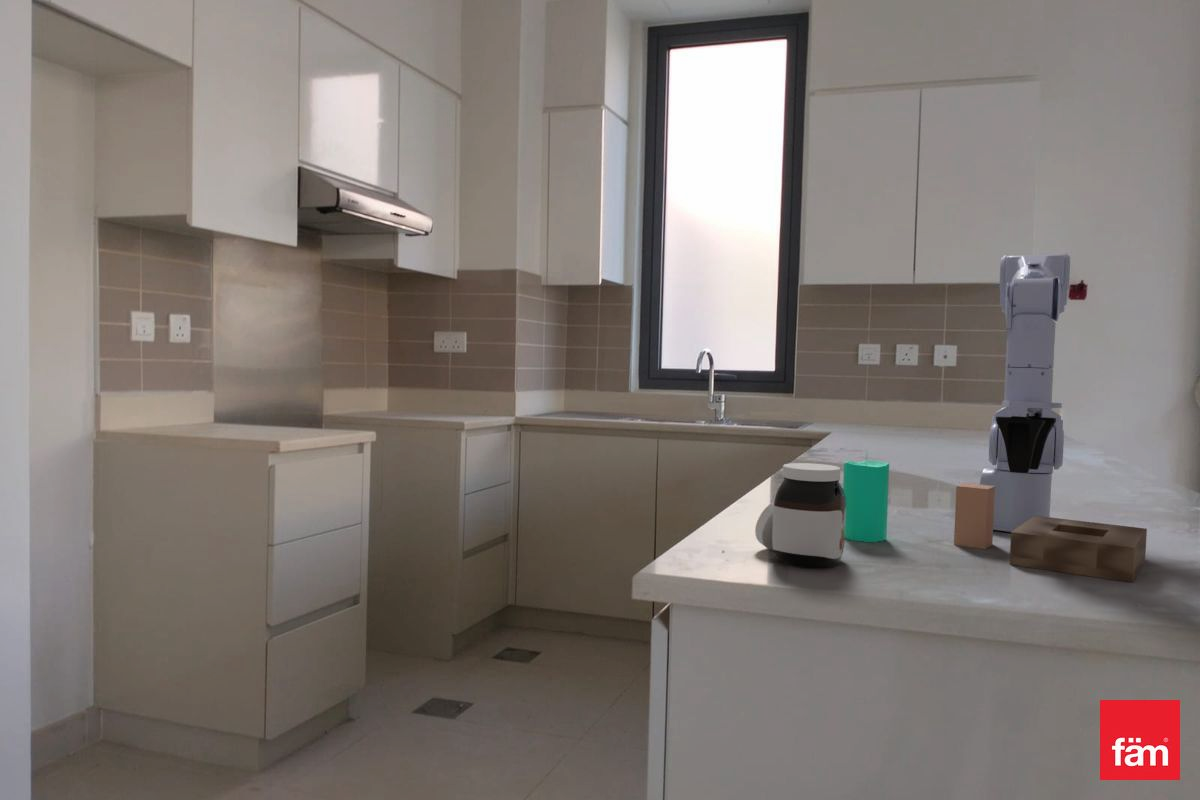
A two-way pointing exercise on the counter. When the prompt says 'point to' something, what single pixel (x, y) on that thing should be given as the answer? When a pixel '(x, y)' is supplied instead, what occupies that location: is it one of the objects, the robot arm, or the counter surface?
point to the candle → (866, 500)
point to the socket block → (1079, 547)
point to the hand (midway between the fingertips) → (1024, 470)
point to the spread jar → (806, 517)
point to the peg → (974, 515)
